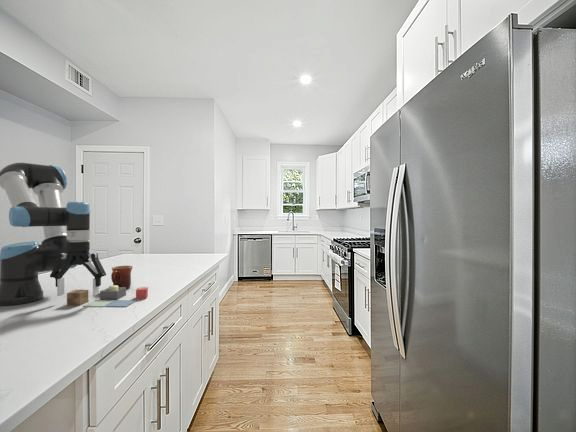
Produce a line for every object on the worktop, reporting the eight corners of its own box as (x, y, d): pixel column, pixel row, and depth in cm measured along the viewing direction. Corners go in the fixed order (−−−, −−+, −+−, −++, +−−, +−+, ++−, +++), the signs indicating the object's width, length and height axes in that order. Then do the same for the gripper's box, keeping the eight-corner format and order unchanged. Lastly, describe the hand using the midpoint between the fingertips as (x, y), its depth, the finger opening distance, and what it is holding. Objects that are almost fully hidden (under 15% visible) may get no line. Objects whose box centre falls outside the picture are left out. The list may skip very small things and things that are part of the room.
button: (106, 296, 127) (106, 287, 127) (111, 294, 131) (111, 285, 131) (115, 296, 127) (115, 287, 127) (120, 294, 131) (120, 285, 131)
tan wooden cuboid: (66, 305, 117) (66, 292, 117) (75, 301, 122) (75, 289, 122) (80, 305, 117) (80, 293, 117) (88, 302, 122) (88, 289, 122)
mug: (118, 286, 148) (118, 265, 148) (136, 286, 148) (136, 265, 148) (102, 292, 136) (102, 270, 136) (122, 293, 136) (122, 270, 136)
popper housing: (100, 299, 125) (100, 291, 125) (109, 295, 132) (109, 287, 132) (117, 299, 125) (117, 291, 125) (125, 295, 132) (126, 287, 132)
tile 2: (105, 306, 116) (105, 306, 116) (116, 300, 124) (116, 300, 124) (126, 307, 116) (126, 306, 116) (136, 300, 124) (136, 300, 124)
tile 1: (82, 306, 116) (82, 305, 116) (95, 300, 124) (95, 299, 124) (103, 306, 116) (103, 306, 116) (115, 300, 124) (115, 300, 124)
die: (135, 299, 127) (135, 288, 127) (137, 296, 131) (137, 286, 130) (146, 298, 128) (146, 288, 128) (147, 296, 132) (147, 286, 132)
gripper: (38, 242, 115) (38, 297, 115) (104, 241, 116) (104, 297, 116) (53, 240, 123) (53, 292, 123) (115, 240, 123) (115, 292, 123)
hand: (78, 295), depth 119 cm, fingers open, 13 cm apart
